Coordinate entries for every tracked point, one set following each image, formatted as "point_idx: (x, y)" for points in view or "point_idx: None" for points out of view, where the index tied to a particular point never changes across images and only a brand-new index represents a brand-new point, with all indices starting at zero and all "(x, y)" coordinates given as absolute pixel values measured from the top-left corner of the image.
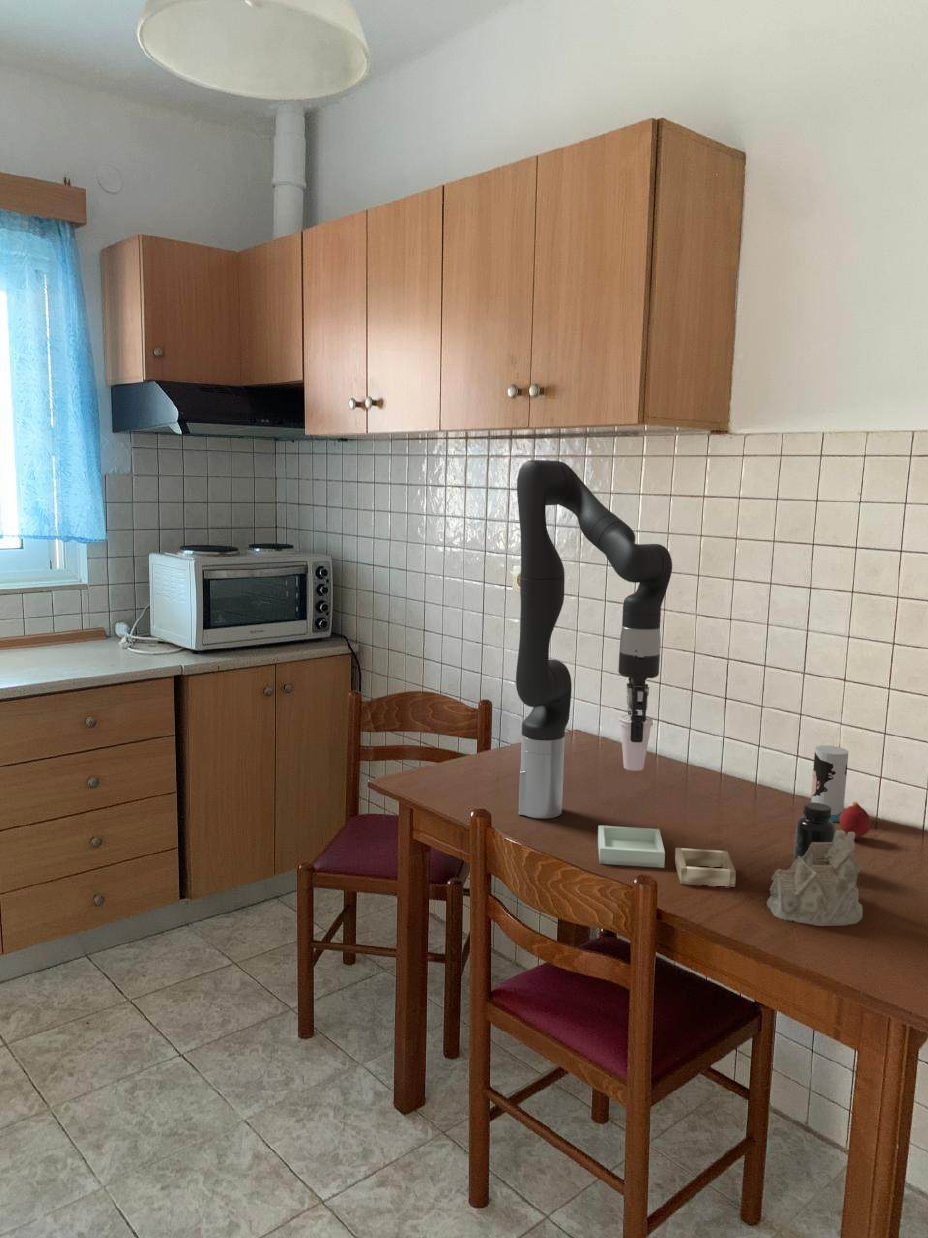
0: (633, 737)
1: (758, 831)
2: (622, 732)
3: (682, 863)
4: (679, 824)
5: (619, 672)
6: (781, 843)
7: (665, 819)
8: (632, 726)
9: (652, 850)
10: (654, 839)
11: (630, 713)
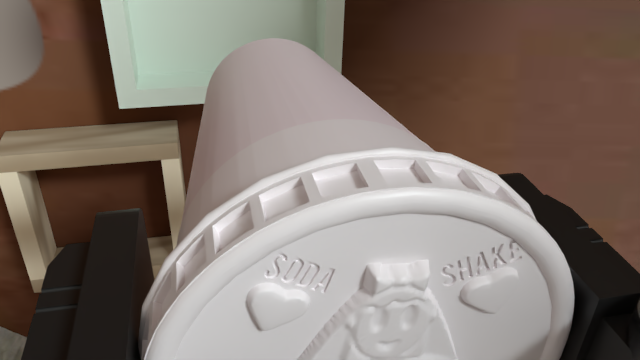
0: (48, 268)
1: None
2: (272, 142)
3: (36, 160)
4: (485, 139)
5: None
6: None
7: (525, 102)
8: (73, 345)
9: (125, 67)
10: None
11: (594, 310)
